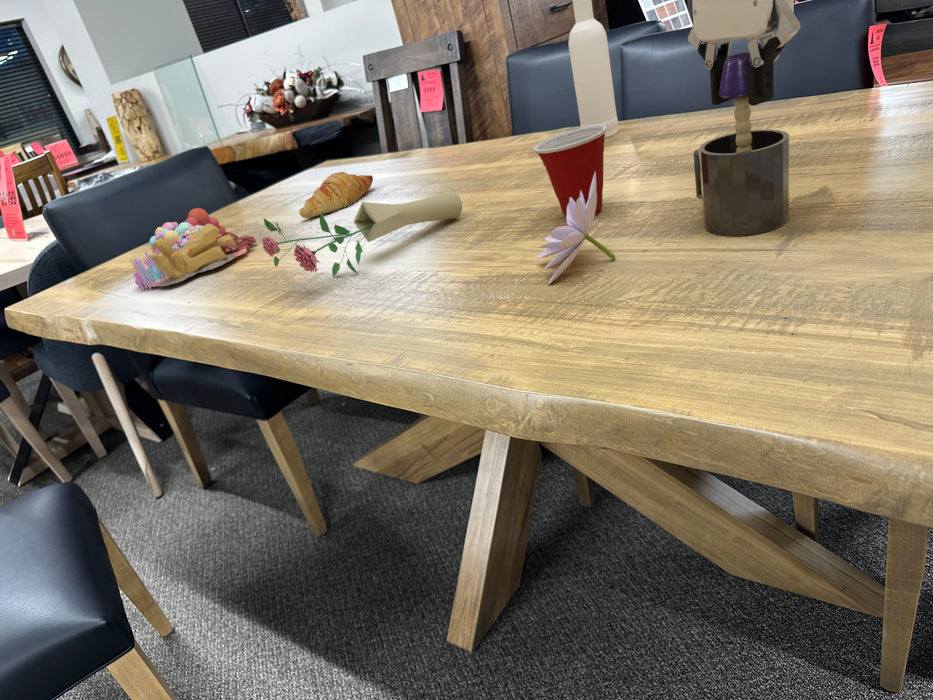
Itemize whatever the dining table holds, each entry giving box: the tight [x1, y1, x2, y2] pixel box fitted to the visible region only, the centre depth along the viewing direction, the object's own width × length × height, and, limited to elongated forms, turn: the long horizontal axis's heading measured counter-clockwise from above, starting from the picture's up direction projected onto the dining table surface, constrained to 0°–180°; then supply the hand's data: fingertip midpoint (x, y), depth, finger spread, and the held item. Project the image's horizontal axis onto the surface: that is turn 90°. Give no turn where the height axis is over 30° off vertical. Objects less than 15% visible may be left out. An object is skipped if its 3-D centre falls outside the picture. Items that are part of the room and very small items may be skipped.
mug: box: [692, 128, 790, 237], centre depth 79 cm, size 13×10×10 cm
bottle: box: [568, 0, 620, 139], centre depth 133 cm, size 8×8×30 cm
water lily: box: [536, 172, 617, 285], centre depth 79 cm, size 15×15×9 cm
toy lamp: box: [719, 52, 753, 153], centre depth 75 cm, size 5×5×17 cm
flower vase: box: [261, 190, 463, 277], centre depth 101 cm, size 12×12×35 cm
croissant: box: [298, 171, 374, 219], centre depth 141 cm, size 21×10×8 cm, turn 141°
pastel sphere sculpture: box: [129, 207, 257, 291], centre depth 125 cm, size 25×24×9 cm
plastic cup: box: [533, 125, 607, 218], centre depth 95 cm, size 11×11×12 cm
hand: (741, 100), depth 74 cm, fingers closed on toy lamp, 4 cm apart
